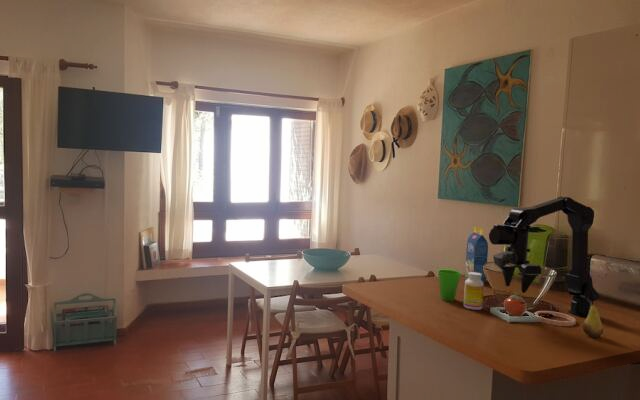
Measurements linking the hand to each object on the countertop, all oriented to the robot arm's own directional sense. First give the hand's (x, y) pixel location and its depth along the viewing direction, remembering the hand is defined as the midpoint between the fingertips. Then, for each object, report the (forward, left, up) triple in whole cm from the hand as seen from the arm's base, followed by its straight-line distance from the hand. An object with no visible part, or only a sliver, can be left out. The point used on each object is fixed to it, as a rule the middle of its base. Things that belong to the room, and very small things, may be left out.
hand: (515, 289), depth 166 cm
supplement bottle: (+9, -12, -10) cm, 18 cm away
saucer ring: (-13, +4, -10) cm, 17 cm away
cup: (+13, -24, -10) cm, 29 cm away
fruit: (-14, +20, -10) cm, 27 cm away
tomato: (0, 0, -10) cm, 10 cm away
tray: (0, 0, -10) cm, 10 cm away
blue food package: (-17, -56, -10) cm, 59 cm away
